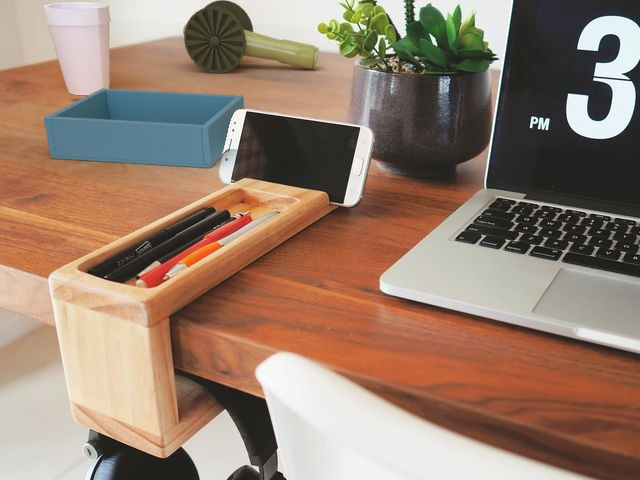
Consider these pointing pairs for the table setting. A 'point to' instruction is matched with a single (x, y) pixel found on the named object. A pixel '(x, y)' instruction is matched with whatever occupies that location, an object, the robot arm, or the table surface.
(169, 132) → the tray
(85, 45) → the foam cup
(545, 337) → the table surface
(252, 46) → the cannon
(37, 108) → the table surface
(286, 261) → the table surface
